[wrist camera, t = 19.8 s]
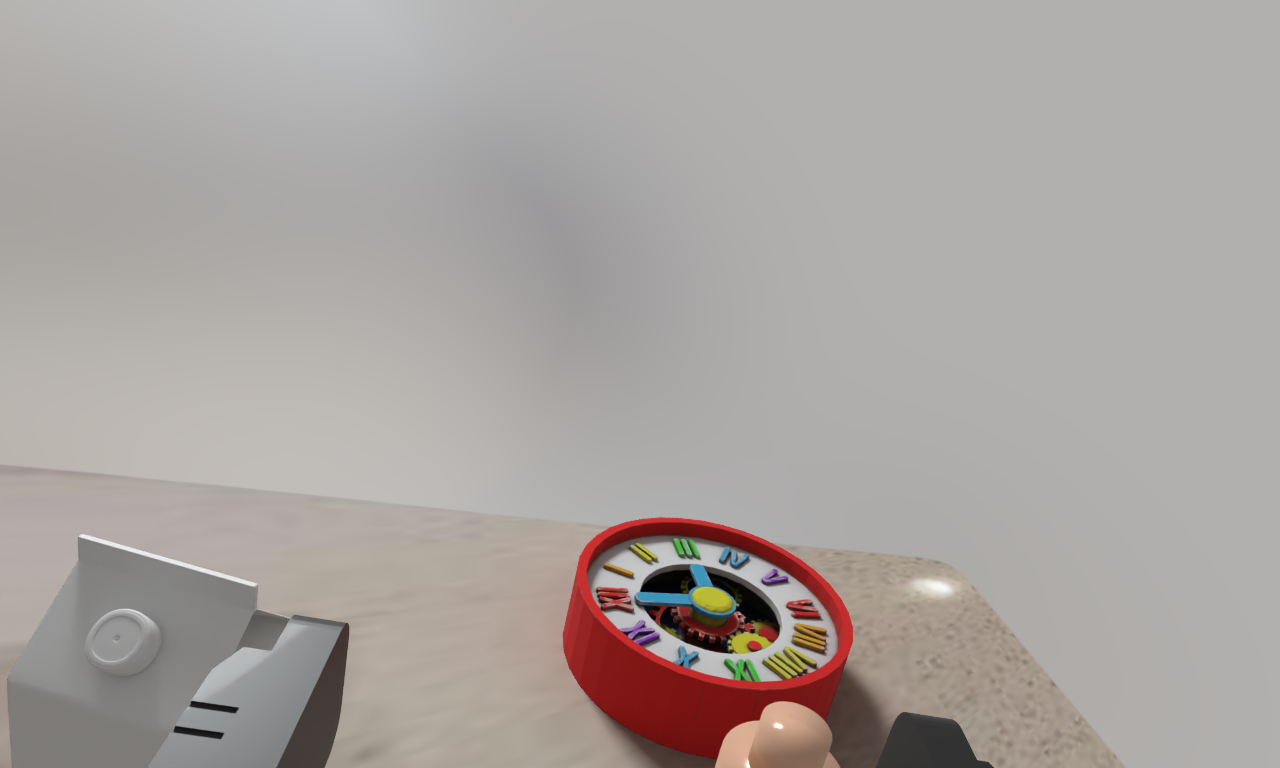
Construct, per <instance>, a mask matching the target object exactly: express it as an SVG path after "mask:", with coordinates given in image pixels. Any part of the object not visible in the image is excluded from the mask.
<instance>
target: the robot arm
mask: <svg viewBox="0 0 1280 768" xmlns="http://www.w3.org/2000/svg"><path fill="white" fill-rule="evenodd" d="M348 640H349V625H348V623H343V622H337V621H331V620H324V619H318V618H311V617H305V616H299V615H294V616H292V618H291V619H290V620H289V622H288V623H287V625H286V627H285V629H284V630H283V632H282V634H281V636H280V637H279V639H278V641H277V642H276V644H275V646H274V648H273V649H272V651H268V650H261V649H255V648H248V647H243V648H241V649H240V650H239V651H237V652H236V653H234V654H233V655H232V656H230V657H229V658H227V659H226V660H225V661H223V662H222V663H220V664H219V665H218V666H216V667H215V668H213V669H212V670H211V671H210V672H209V674H208V676H207V677H206V679H205V680H204V682H203V683H202V685H201V686H200V688H199V689H198V691H197V692H196V694H195V695H194V697H193V699H192V700H191V704H190V706H189V707H187V708H186V709H185V711H184V712H183V714H182V715H181V717H180V718H179V720H178V722H177V723H176V725H175V728H174V731H173V733H172V732H170V734H169V735H168V737H167V738H166V740H165V741H164V743H163V745H162V746H161V748H160V749H159V751H158V752H157V754H156V755H155V757H154V758H153V760H152V761H151V763H150V765H149V766H148V768H324V767H325V765H326V763H327V760H328V757H329V755H330V752H331V749H332V746H333V743H334V739H335V735H336V731H337V727H338V723H339V718H340V712H341V704H342V695H343V686H344V677H345V668H346V658H347V649H348ZM876 768H994V767H993V766H992V765H991V764H990V763H989V762H985V761H978V760H977V759H976V757H975V755H974V753H973V751H972V749H971V747H970V745H969V743H968V741H967V739H966V737H965V735H964V733H963V731H962V729H961V727H960V726H959V724H958V723H957V722H956V721H954V720H952V719H946V718H940V717H933V716H927V715H920V714H914V713H908V712H903V713H901V714H900V715H899V716H898V717H897V718H896V720H895V722H894V724H893V726H892V729H891V731H890V734H889V736H888V739H887V741H886V744H885V747H884V749H883V752H882V754H881V757H880V759H879V762H878V764H877V767H876Z"/></svg>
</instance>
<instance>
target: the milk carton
mask: <svg viewBox="0 0 1280 768" xmlns="http://www.w3.org/2000/svg"><path fill="white" fill-rule="evenodd" d="M78 558H79V560H78V562H77V563H76V565H75V566H74V568H73V570H72V571H71V573H70V575H69V576H68V578H67V580H66V581H65V583H64V585H63V586H62V588H61V590H60V591H59V593H58V595H57V596H56V598H55V600H54V601H53V603H52V605H51V606H50V608H49V609H48V611H47V613H46V614H45V616H44V618H43V619H42V621H41V623H40V624H39V626H38V628H37V629H36V631H35V633H34V634H33V636H32V638H31V639H30V641H29V643H28V644H27V646H26V648H25V649H24V651H23V652H22V654H21V656H20V657H19V659H18V661H17V662H16V664H15V666H14V667H13V669H12V671H11V673H10V674H9V676H8V678H7V696H8V714H9V730H10V746H11V762H12V768H148V766H149V765H150V763H151V761H152V760H153V758H154V757H155V755H156V754H157V752H158V751H159V749H160V748H161V746H162V745H163V743H164V741H165V740H166V738H167V737H168V735H169V734H170V732H172V733H173V731H174V728H175V725H176V723H177V722H178V720H179V718H180V717H181V715H182V714H183V712H184V711H185V709H186V708H187V707H189V706H190V704H191V700H192V699H193V697H194V695H195V694H196V692H197V691H198V689H199V688H200V686H201V685H202V683H203V682H204V680H205V679H206V677H207V676H208V674H209V672H210V671H211V670H212V669H213V668H215V667H216V666H218V665H219V664H220V663H222V662H223V661H225V660H226V659H227V658H229V657H230V656H232V655H233V654H234V653H236V652H237V651H239V650H240V649H241V648H243V647H248V648H255V649H261V650H268V651H272V649H273V648H274V646H275V644H276V642H277V641H278V639H279V637H280V636H281V634H282V632H283V630H284V629H285V627H286V625H287V623H288V622H289V620H290V619H291V618H288V617H285V616H281V615H278V614H274V613H271V612H267V611H264V610H261V609H257V594H258V585H257V583H253V582H250V581H246V580H243V579H239V578H236V577H232V576H228V575H225V574H221V573H218V572H214V571H211V570H207V569H204V568H200V567H197V566H193V565H190V564H186V563H183V562H179V561H176V560H172V559H169V558H165V557H162V556H158V555H155V554H151V553H148V552H144V551H141V550H137V549H134V548H130V547H127V546H123V545H120V544H116V543H113V542H109V541H106V540H102V539H99V538H95V537H92V536H88V535H85V534H81V535H80V536H78Z"/></svg>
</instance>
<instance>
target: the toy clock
mask: <svg viewBox="0 0 1280 768" xmlns="http://www.w3.org/2000/svg"><path fill="white" fill-rule="evenodd" d="M852 642H853V626H852V623H851V619H850V616H849V613H848V611H847V609H846V607H845V605H844V603H843V602H842V600H841V598H840V597H839V595H838V594H837V593H836V592H835V590H834V589H833V588H832V587H831V585H830V584H829V583H828V582H827V581H826V580H825V579H824V578H822V577H821V576H820V575H819V574H818V573H817V572H816V571H815V570H814V569H812V568H811V567H810V566H808V565H807V564H806V563H804V562H803V561H802V560H800V559H799V558H797V557H795V556H794V555H792V554H791V553H789V552H787V551H786V550H784V549H782V548H780V547H778V546H776V545H774V544H772V543H770V542H768V541H766V540H764V539H762V538H759V537H756V536H754V535H752V534H749V533H746V532H744V531H740V530H737V529H734V528H731V527H727V526H724V525H720V524H715V523H710V522H706V521H701V520H692V519H684V518H662V517H660V518H649V519H639V520H634V521H630V522H625V523H622V524H619V525H616V526H613V527H611V528H609V529H607V530H605V531H603V532H602V533H600V534H598V535H597V536H596V537H595V538H593V539H592V540H591V541H590V542H589V543H588V544H587V545H586V547H585V549H584V550H583V552H582V554H581V555H580V558H579V562H578V567H577V571H576V576H575V581H574V585H573V590H572V595H571V599H570V604H569V609H568V613H567V618H566V622H565V627H564V632H563V647H564V653H565V656H566V659H567V663H568V666H569V668H570V670H571V672H572V674H573V675H574V677H575V679H576V680H577V682H578V684H579V685H580V687H581V688H582V689H583V690H584V691H585V693H586V694H587V695H588V696H589V697H590V698H591V700H592V701H593V702H594V703H595V704H597V705H598V706H599V707H600V708H601V709H602V710H603V711H605V712H606V713H607V714H608V715H609V716H610V717H612V718H613V719H615V720H616V721H618V722H619V723H621V724H622V725H624V726H625V727H627V728H628V729H630V730H632V731H633V732H635V733H637V734H639V735H641V736H643V737H645V738H647V739H649V740H652V741H654V742H656V743H658V744H660V745H663V746H666V747H669V748H672V749H675V750H678V751H681V752H684V753H688V754H693V755H698V756H703V757H708V758H714V759H718V756H719V753H720V749H721V746H722V743H723V740H724V738H725V737H726V735H727V734H728V733H729V732H730V731H731V730H732V729H733V728H735V727H736V726H738V725H740V724H743V723H746V722H750V721H760V718H761V715H762V712H763V710H764V709H765V707H766V706H768V705H769V704H772V703H775V702H782V701H784V702H793V703H797V704H800V705H802V706H805V707H807V708H809V709H811V710H812V711H814V712H815V713H817V714H818V715H819V716H820V717H821V718H822V719H823V720H824V721H825V720H826V718H827V715H828V712H829V709H830V706H831V703H832V701H833V698H834V695H835V692H836V689H837V686H838V683H839V680H840V677H841V675H842V672H843V669H844V666H845V663H846V660H847V657H848V654H849V651H850V648H851V645H852Z"/></svg>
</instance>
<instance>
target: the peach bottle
mask: <svg viewBox="0 0 1280 768" xmlns="http://www.w3.org/2000/svg"><path fill="white" fill-rule="evenodd" d="M831 744H832V733H831V730H830V728H829V726H828V725H827V723H826V722H825V721H824V720H823V719H822V718H821V717H820V716H819V715H818V714H817V713H815V712H814V711H812V710H811V709H809V708H807V707H805V706H802V705H800V704H797V703H793V702H784V701H782V702H775V703H772V704H769V705H768V706H766V707H765V709H764V710H763V712H762V715H761V718H760V721H750V722H746V723H743V724H740V725H738V726H736V727H735V728H733V729H732V730H731V731H730V732H729V733H728V734H727V735H726V737H725V738H724V740H723V743H722V746H721V749H720V753H719V756H718V759H717V762H716V766H715V768H840V766H839V764H838V763H837V761H836V760H835V758H834V757H833V756H832V754H831V753H830V752H829V750H830V747H831Z"/></svg>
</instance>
